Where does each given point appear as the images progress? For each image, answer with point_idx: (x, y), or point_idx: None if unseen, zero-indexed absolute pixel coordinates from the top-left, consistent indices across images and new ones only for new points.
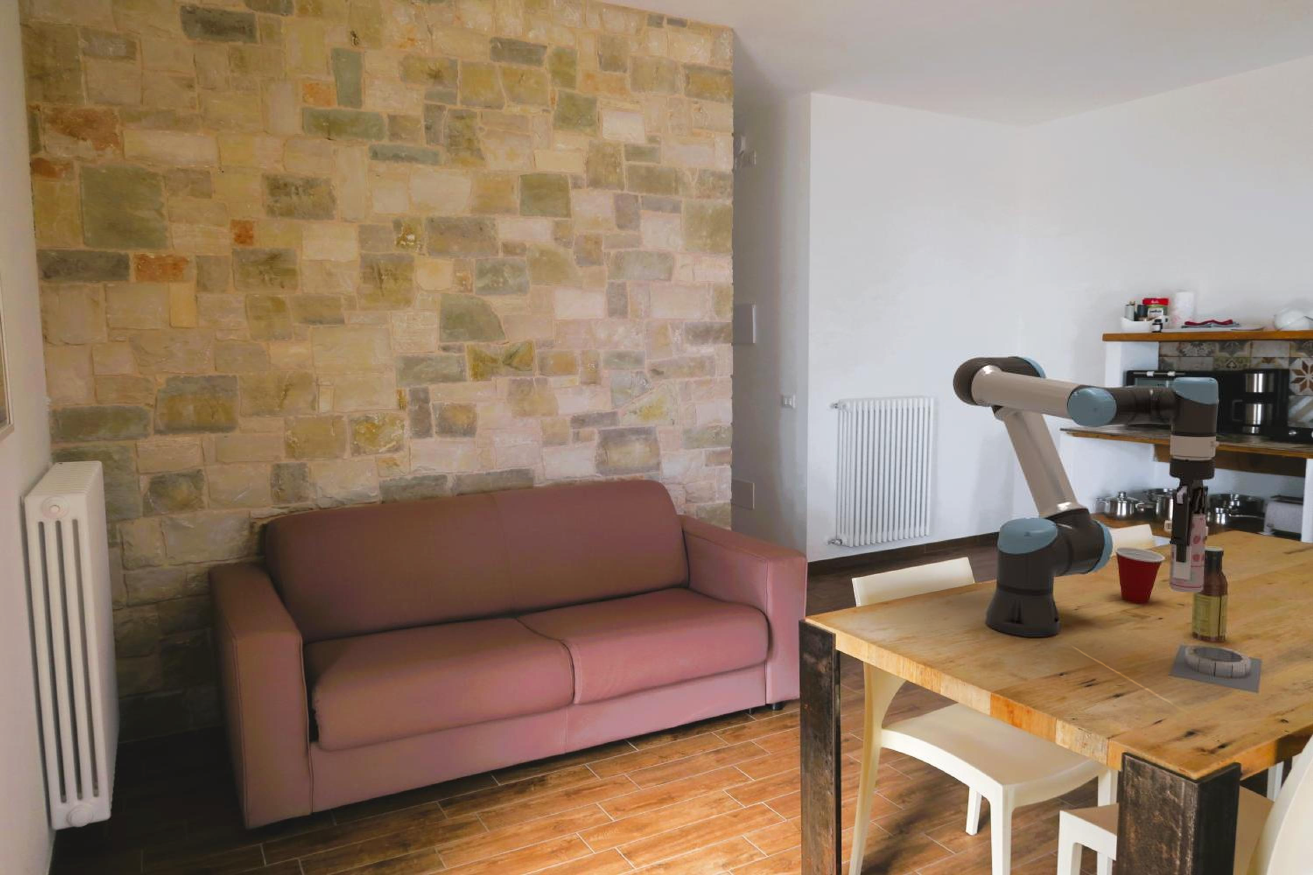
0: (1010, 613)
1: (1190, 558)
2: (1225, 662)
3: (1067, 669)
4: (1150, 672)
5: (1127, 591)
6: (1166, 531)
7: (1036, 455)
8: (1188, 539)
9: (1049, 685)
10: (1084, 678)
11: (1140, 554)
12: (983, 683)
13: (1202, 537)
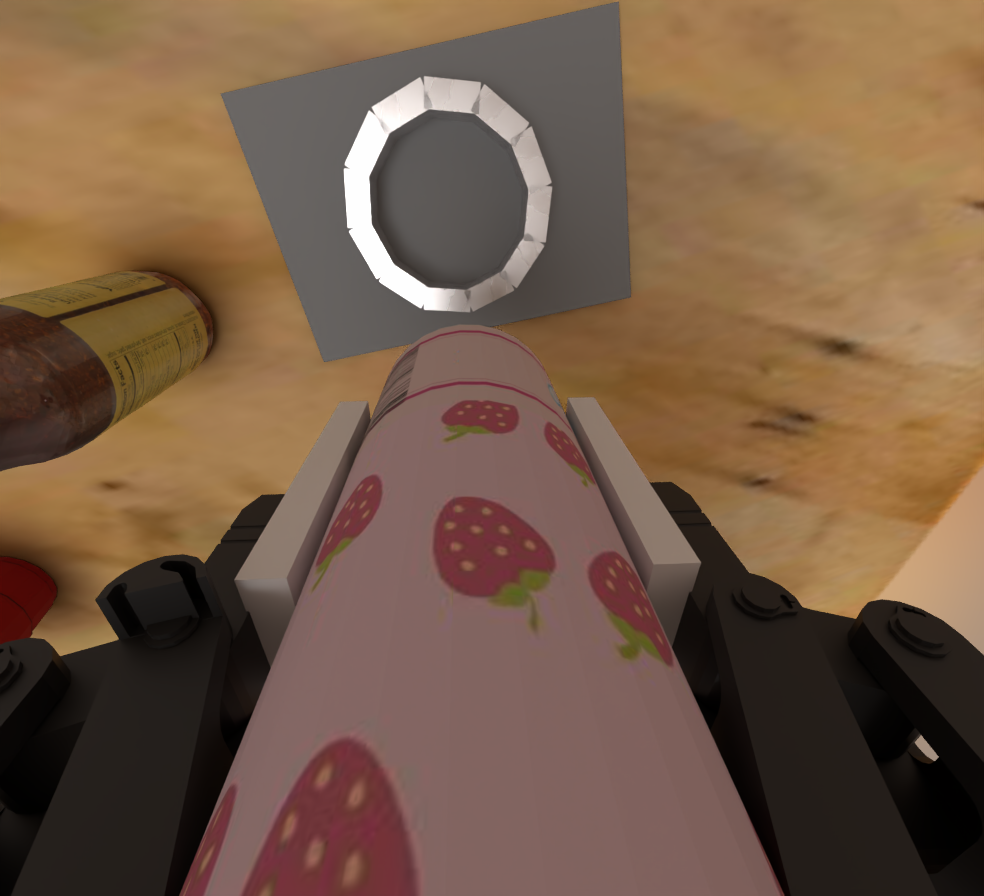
0: None
1: (621, 477)
2: (520, 155)
3: (720, 485)
4: (617, 346)
5: (37, 613)
6: None
7: None
8: (815, 649)
9: (845, 471)
10: (760, 440)
11: None
12: (892, 551)
13: (562, 584)
